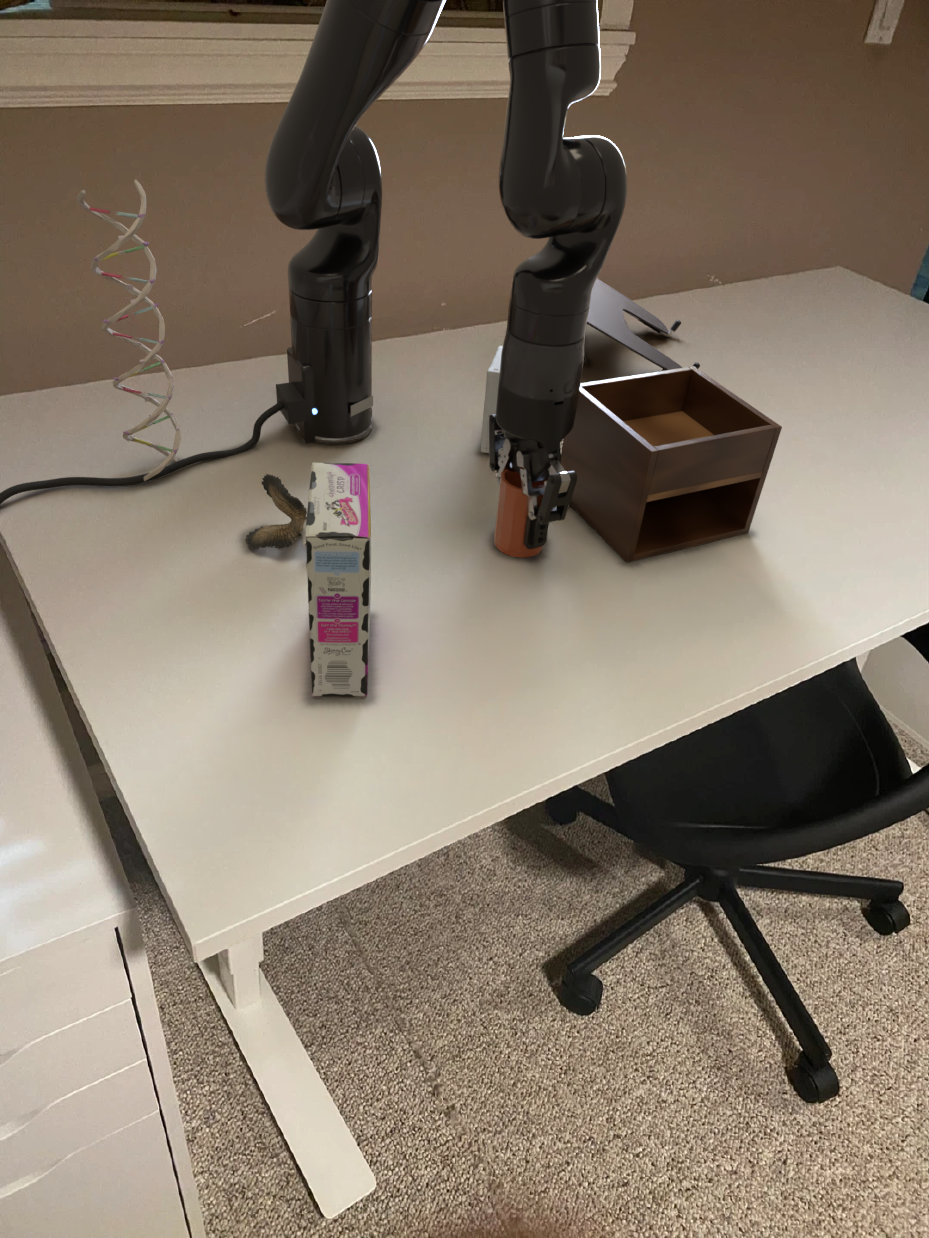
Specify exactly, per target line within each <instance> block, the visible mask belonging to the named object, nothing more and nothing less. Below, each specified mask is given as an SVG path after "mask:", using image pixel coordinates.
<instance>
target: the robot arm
mask: <svg viewBox="0 0 929 1238" xmlns="http://www.w3.org/2000/svg"><path fill="white" fill-rule="evenodd" d="M446 1H447V0H326V2H325V5H324V7H323V11H322V14H321V16H320V19H319V23H318V26H317V28H316V30H315V34H314V37H313V39H312V43H311V46H310V48H309V50H308V54H307V56H306V60H305V62H304V65H303V68H302V71H301V72H300V73H301V74H300V76H299V78H298V81H297V82H296V85H295V87H294V90H293V92H292V95H291V96H290V98H289V101H288V102H287V105H286V107H285V109H284V112H283V114H282V116H281V119H280V121H279V123H278V124H277V127H276V129H275V131H274V134H273V137H272V139H271V142H270V143H269V147H268V151H267V154H266V159H265V165H264V186H265V187H264V188H265V194H266V199H267V202H268V205H269V207H270V210H271V211H272V213H273V215H274V217H275V218H276V219H277V220H278V221H279V222H280V223H281V224H283V225H284V226H286V227H287V228H290V229H294V230H298V231H312V230H313V231H314V230H316V231H315V232H314V234H313V235H312V238H311V239H310V240H309V241H308V242H307V243H306V244H305V245H304V246H303V247H302V248H301V249H299V250H298V251H297V252H296V253H294V255H292V257H291V258H290V260H289V262H288V264H287V284H288V285H287V286H288V301H289V303H288V304H289V321H290V337H291V346H289V347H288V348H286V357H287V374H288V376H287V377H288V382H284V383H283V382H282V383H276V384H275V393H276V403H275V404H274V405H272V406H271V407H269V408H268V409H266V410H265V411H264V412H262V413H261V414H260V415H259V417H258V418H257V419H256V420H255V421H254V425H253V429H252V436H251V438H250V439H249V440H248V441H246V442H245V443H243V444H242V445H240V446H237V447H235V448H231V449H225V450H215V451H214V450H213V451H208V452H202V453H201V452H200V453H197V454H194V455H191V456H188V457H185V458H183V459H180V460H178V461H177V462H173V463H170V464H168V465H167V466H166V467H165V468H164V469H163V470H162V471H161V472H160V473H158V474H156V475H155V476H153V477H151V478H150V479H148V480H146V481H144V476H146V475H147V474H149V473H150V472H147V473H142V474H138V475H134V476H133V475H132V476H127V477H94V476H68V477H67V476H66V477H58V478H51V479H45V480H44V479H43V480H37V481H36V480H35V481H29V482H23V483H19V484H16V485H13V486H10V487H8V488H6V489H4V490H3V491H1V492H0V506H1V505H2V504H3V503H4V502H5V501H7V500H8V499H9V498H11V497H13V496H16V495H19V494H21V493H26V492H33V491H37V490H38V491H39V490H47V489H53V488H59V487H60V488H61V487H68V486H93V487H127V486H133V485H139V484H143V483H148V482H151V481H154V480H157V479H160V478H163V477H165V476H168V475H170V474H172V473H174V472H177V471H179V470H180V469H183V468H186V467H188V466H192V465H195V464H197V463H200V462H205V461H212V460H219V459H224V458H225V459H226V458H228V457H232V456H235V455H240V454H242V453H245V452H248V451H250V450H252V449H253V448H254V447H255V446H256V445H257V444H258V442H259V441H260V438H261V433H262V432H261V431H262V427H263V425H264V424H265V423H266V421H267V420H268V419H270V418H271V417H273V416H274V415H275V414H277V413H278V412H281V414H282V416H283V417H284V419H285V420H286V422H287V423H288V424H289V425H291V424H292V425H293V426H294V428H295V430H296V432H297V433H298V434H299V435H300V437H301V439H302V440H303V441H304V443H306V444H309V443H320V444H325V445H344V444H351V443H355V442H357V441H360V440H362V439H364V438H366V437H367V436H368V435H370V433H371V432H372V431H373V407H374V395H373V388H372V387H373V368H372V367H373V354H372V353H373V276H374V274H375V270H376V269H377V266H378V263H379V258H380V257H379V256H380V240H381V223H382V209H383V175H382V167H381V163H380V158H379V155H378V152H377V149H376V146H375V144H374V143H373V140H372V138H370V136H369V135H368V134H367V133H366V132H365V130H363V129H362V128H360V127H359V126H357V124H358V123H359V121H360V120H361V119H362V117H363V116H364V115H365V114H366V112H368V110H369V109H370V108H371V107H372V106H373V105H374V104H375V102H377V100H379V98H381V97H382V95H383V94H384V93H385V92H387V90H388V89H389V88H391V86H392V85H394V83H395V82H396V81H397V80H398V79H399V78H400V77H401V76H402V75H403V73H404V72H405V71H406V70H407V69H408V67H410V65H411V64H412V63H413V62H414V61H415V60H416V58H417V57H418V56H419V55H420V53H421V51H422V50H423V49H424V48H425V45H426V44H427V43H428V41H429V39H430V37H431V35H432V33H433V31H434V29H435V27H436V24H437V22H438V19H439V17H440V14H441V12H442V11H443V8H444V6H445V3H446ZM598 9H599V8H598V0H502V11H503V22H504V30H505V43H506V52H507V54H506V55H507V60H508V74H509V88H508V97H507V103H506V112H505V119H504V127H503V128H504V129H503V135H502V143H501V144H502V145H501V151H500V158H499V166H498V167H499V168H498V192H499V198H500V203H501V206H502V209H503V212H504V215H505V217H506V218H507V221H508V222H509V223H510V226H511V227H512V228H513V229H514V230H515V231H516V232H517V233H518V234H520V235H521V236H523V237H525V238H527V239H532V240H541V239H547V241H546V243H545V245H544V246H543V247H542V248H541V249H540V250H539V251H537V252H536V253H534V254H532V255H531V256H529V257H528V258H526V259H525V260H524V259H523V261H521V262H520V263H519V264H518V265H517V266H516V268H515V269H514V270H513V273H512V278H511V283H510V292H509V301H508V311H507V322H506V330H505V335H504V340H503V343H502V346H503V348H502V354H501V363H500V374H499V384H498V394H497V405H496V414H493V415H490V416H489V453H488V456H489V459H488V464H489V470H490V471H491V472H496V473H497V474H496V482H497V484H498V485H499V486H500V477H501V472H502V471H503V470H509V471H512V472H515V471H516V472H518V473H519V474H520V476H521V489H522V494H523V495H524V496H526V497H527V507H528V516H527V520H526V528H525V535H524V545H525V546H526V547H527V549H533V548H538V547H542V546H543V547H544V546H545V545H546V543H547V540H548V533H549V527H550V523H553V522H560V521H565V518H566V517H567V514H568V513H567V512H568V510H569V507H570V501H571V498H572V495H573V492H574V488H575V485H576V482H577V474H576V472H575V471H568V472H566V471H565V469H564V468H563V467H562V465H561V464H560V462H561V451H562V450H561V443H562V442H563V438H564V437H565V436H566V435H567V434H568V433H569V432H570V431H571V430H572V428H573V426H574V421H575V414H576V408H577V402H578V395H579V389H580V383H582V382H581V381H582V375H583V370H584V363H585V361H584V355H585V340H586V331H587V325H588V324H587V319H588V313H589V306H590V300H591V292H592V289H593V286H594V284H595V281H596V279H598V277H599V275H600V273H601V271H602V268H603V267H604V264H605V261H606V259H607V256H608V254H609V251H610V249H611V246H612V243H613V242H614V239H615V237H616V234H617V231H618V229H619V226H620V224H621V220H622V219H623V215H624V212H625V207H626V203H627V196H628V174H627V167H626V164H625V161H624V158H623V155H622V153H621V151H620V149H619V148H618V146H616V144H615V143H613V141H611V140H610V139H608V138H606V137H604V136H601V135H579V136H574V137H564V132H565V131H564V129H565V126H566V120H567V116H568V111H569V108H570V106H571V105H572V104H574V103H576V102H579V101H582V100H583V99H586V98H587V97H589V96H591V95H592V94H593V93H594V92H595V91H596V90H597V88H598V87H599V84H600V81H601V69H602V67H601V66H602V65H601V48H600V44H601V43H600V26H599V25H600V23H599V10H598ZM501 448H504V449H503V451H502V454H501V455H498V452H499V449H501ZM545 479H547V481H545V482H544V485H539V486H534V487H532V484H531V482H538V481H543V480H545ZM540 495H543V498H542V501H541V505H540V506H537V497H538V496H540Z"/></svg>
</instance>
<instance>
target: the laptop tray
mask: <svg viewBox="0 0 929 1238" xmlns="http://www.w3.org/2000/svg"><path fill="white" fill-rule="evenodd" d="M624 312H625V313H626V314H628V315H629V316H631V317H633V318H634V319H636V320H637V321H638V322H640V323H642V324H643V325H644V326H647V327H648V328H649V329H651V330H652V331H654V332H655V333H658V334H659V335H662V336H663V337H671V336H673V335H674V333H675V332H676V331H677V330H678V328H680V326H681V324H682V321H681V320H680V319H676V320H675V321H674V322H673V324H672V325H671V327H670V329H668V328H667V326H666V325H665V323H664V322H663V321H661V320H660V318H658V317H656V316H655V315H654V314H652V313H651V312H650V311H648V310H646V309H645V308H644V307H642V306H641V305H639V304H637V303H636V302H635V301H633V300H632V299H631V298H628V297H627V296H625V295H624V294H622V293H621V292H619V291H618V290H616V289H615V288H613V287H611V286H610V285H608V284H607V283H605V282H604V281H602V280H601V279H599V278H597V279H596V281H595V284H594V286H593V289H592V292H591V300H590V306H589V313H588V319H587V325H588V326H590V327H591V328H593V329H595V330H596V331H598V332H600V333H601V334H603V335H604V336H606V337H607V338H608V337H609V338H610V339H611V340H613V341H615V342H616V343H618V344H620V345H621V346H623V347H624V348H626V349H628V350H629V351H631V352H633V353H635V354H636V355H638V356H640V357H642V358H643V359H645V360H646V361H648V362H650V363H652V364H654V365H656V366H657V367H659V368H661V371H666V370H672V369H679V368H683V366H681V365H680V364H679V363H677V362H676V361H675V360H673V359H672V358H670V357H668V356H667V355H666V354H665V353H663V352H662V351H660V350H658V349H657V348H655V347H654V346H653V345H651V344H649V343H648V342H646V341H645V340H643V338H640V337H639V336H637V335H636V334H635V333H634V332H633V331H632V330H631V329H630V328H629V326H628V323H627V320H626V318H625V314H624ZM584 363H585V364H588V361H587V358H586V355H585V354H584ZM692 366H694V367H696V368H697V369H700V367H701V364H700V363H699V362H697V361H695V362H694V363H693V365H692Z"/></svg>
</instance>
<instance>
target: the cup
mask: <svg viewBox="0 0 929 1238" xmlns="http://www.w3.org/2000/svg"><path fill="white" fill-rule="evenodd" d="M545 481H547V479H545V480H543V481H538V482H531V484H532V487H534V486H539V485H544V482H545ZM542 498H543V495H540V496H538V497H537V506H540V505H541V501H542ZM527 516H528V507H527V497H526V496H524V495H523V494H522V489H521V476H520V474H519V473H518V472H516V471H515V472H512V471H509V470H503V471H502V472H501V477H500V485H499V487H498V496H497V505H496V515H495V526H494V537H493V542H494V546H495V547H496V549H497V550H498V551H500V552H501V553H503V554H504V555H506V556H510V557H514V558H530V557H534V556H536V555H538V554H540V553H541V552H542V551H543V548H544V545H543V546H542V547H538V548H533V549H527V547H526V546H525V545H524V535H525V528H526V520H527Z"/></svg>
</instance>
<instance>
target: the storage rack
mask: <svg viewBox="0 0 929 1238" xmlns="http://www.w3.org/2000/svg"><path fill="white" fill-rule="evenodd" d="M782 429H783V426H782V425H780V424H778V423H777V422H776V421H774V420H773V419H771V418H770V417H769V416H767V415H765V414H764V413H763V412H761V411H760V410H758V409H757V408H755V407H754V406H752V405H751V404H750V403H748V402H747V401H745V400H744V399H742V398H741V397H740V396H739V395H736V394H735V393H734V392H732V390H731V391H730V389H728V388H726V386H723V385H722V384H720V383H719V382H718V381H717V380H715V379H714V378H712V377H710V376H709V375H707V374H706V373H704V372H703V371H702V370H700V368H698V369H697V368H696V367H694V366H693V365H692V366H688V367H687V366H686V367H682V368H679V369H672V370H666V371H662V370H659V371H653V372H647V373H646V372H645V373H640V374H634V375H627V376H619V377H614V378H608V379H607V378H606V379H601V380H593V381H588V382H580V389H579V395H578V402H577V408H576V414H575V421H574V426H573V428H572V430H571V431H570V432H569V433H568V434H567V435H566V436H565V437H564V438H563V440H562V445H561V450H560V451H561V462H560V464H561V465H562V467H563V468H564V469H565V471H566V472H568V471H575V472H576V474H577V482H576V485H575V488H574V492H573V495H572V498H571V501H570V504H569V506H570V507H572V508H573V510H574V511H576V512H577V514H578V515H579V516H580V517H581V518H582V519H583V520H584V521H585V522H586V523H588V525H589V526H590V527H591V528H592V529H593V530H594V531H595V532H596V533H597V534H598V535H599V536H600V537H601V538H602V539H603V540H604V541H605V542H606V543H607V545H609V546H610V547H611V549H612V550H614V551H615V552H616V553H617V555H619V556H620V557H621V558H622V559H623V560H624V562H625V563H632V562H635V561H639V560H643V559H646V558H652V557H656V556H660V555H663V554H667V553H672V552H676V551H680V550H684V549H689V548H693V547H697V546H701V545H705V544H709V543H714V542H717V541H721V540H726V539H730V538H734V537H738V536H742V535H746V534H749V532H750V528H751V527H752V526H751V525H752V523H753V519H754V517H755V513H756V510H757V507H758V503H759V501H760V497H761V495H762V491H763V489H764V485H765V482H766V479H767V475H768V472H769V469H770V466H771V463H772V460H773V458H774V454H775V450H776V447H777V445H778V441H779V438H780V435H781V432H782Z"/></svg>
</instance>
